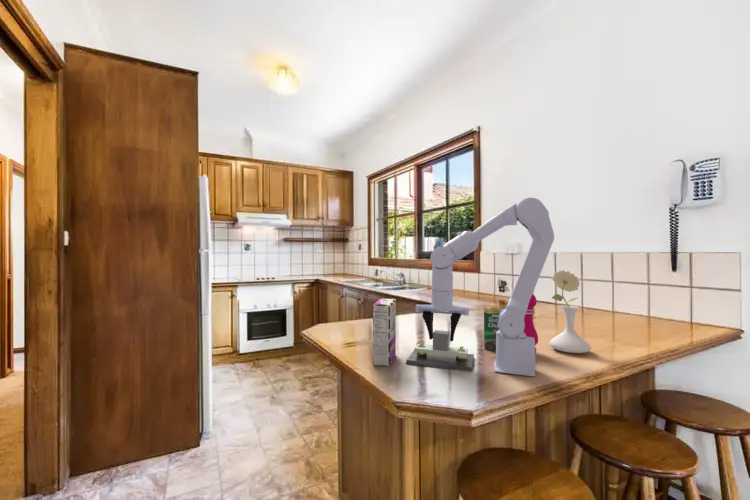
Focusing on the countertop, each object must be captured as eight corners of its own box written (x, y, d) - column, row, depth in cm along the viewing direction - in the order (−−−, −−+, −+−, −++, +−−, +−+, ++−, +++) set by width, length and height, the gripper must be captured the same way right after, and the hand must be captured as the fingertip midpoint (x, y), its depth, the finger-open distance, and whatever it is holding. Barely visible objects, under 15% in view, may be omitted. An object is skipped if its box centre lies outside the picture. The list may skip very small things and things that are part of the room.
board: (467, 352, 98) (467, 332, 98) (466, 357, 93) (466, 336, 93) (417, 347, 102) (418, 328, 102) (414, 351, 97) (414, 331, 97)
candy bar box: (379, 353, 104) (380, 298, 104) (396, 354, 103) (396, 298, 103) (371, 365, 93) (372, 303, 93) (390, 367, 92) (390, 304, 92)
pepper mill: (543, 356, 104) (543, 288, 104) (519, 356, 103) (520, 288, 103) (530, 349, 111) (531, 285, 111) (508, 349, 110) (508, 285, 110)
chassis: (473, 357, 101) (474, 342, 101) (471, 371, 90) (471, 353, 90) (415, 351, 106) (415, 336, 106) (406, 363, 95) (406, 347, 95)
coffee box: (482, 349, 110) (483, 307, 110) (484, 347, 113) (485, 306, 113) (510, 353, 106) (510, 309, 106) (511, 351, 109) (512, 308, 109)
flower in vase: (600, 355, 105) (601, 271, 106) (568, 357, 103) (569, 271, 103) (566, 343, 118) (567, 269, 118) (537, 345, 115) (538, 269, 115)
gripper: (413, 290, 96) (412, 340, 96) (468, 293, 92) (467, 345, 92) (418, 288, 103) (417, 334, 103) (469, 290, 99) (468, 339, 99)
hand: (441, 339), depth 98 cm, fingers open, 5 cm apart
